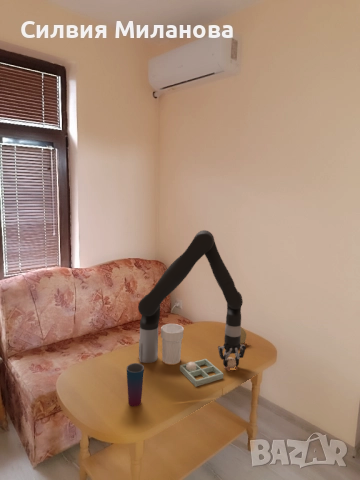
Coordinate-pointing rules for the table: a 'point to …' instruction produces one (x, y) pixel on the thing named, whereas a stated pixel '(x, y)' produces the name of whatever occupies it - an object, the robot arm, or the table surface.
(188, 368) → the cream egg
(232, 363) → the brown egg
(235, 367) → the egg cup
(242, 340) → the yellow toy animal head
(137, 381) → the cup
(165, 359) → the cup
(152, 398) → the table surface
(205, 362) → the egg tray
